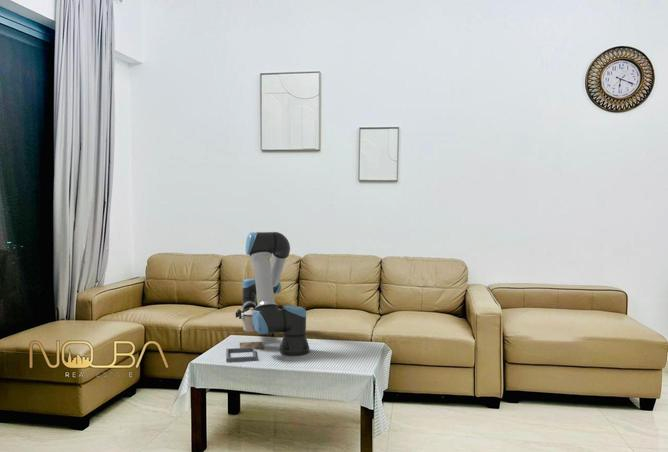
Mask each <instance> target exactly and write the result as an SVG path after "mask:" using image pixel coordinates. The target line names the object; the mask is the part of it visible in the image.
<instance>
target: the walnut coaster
mask: <svg viewBox="0 0 668 452" xmlns="http://www.w3.org/2000/svg"><path fill="white" fill-rule="evenodd" d="M263 343H264V342H263V341H248V342H239V348H251V347H254V348H255V350H259V349H261V350H262V349H264V344H263Z"/></svg>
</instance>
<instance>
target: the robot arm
mask: <svg viewBox="0 0 668 452" xmlns="http://www.w3.org/2000/svg"><path fill="white" fill-rule="evenodd" d="M290 252H291V244H290V242H289V240H288V238H287V236H285V235H284V234H282V233H281V232H277V231H266V232H265V231H255V232H250V233H248V234H247V238H246V241H245V254H246V255H249V258H250V260H252V263H253V273H254V278H245V279H243V280H242V281H243V282H242V304H241V307H242V309H240V308H238V309H237V311H236V312H235V318H238V320H241V321H242V322H243V313H244V312H246V311H248V310H250V308H254V310H255V311H253V313H252V320H253V325H254V328H255V332H256V333H257V334H258V335H268V334H269V335H270V334H278V333H279V334H280V333H282V338H281V339H282V340H281V342H280V345H279V353H280V354H281V355H285V356H292V357H293V356H294V357H295V356H304V355H307V354H308V353H310V345H309V342H308V339H307V311H306V308H305V307H303V306H298V305H291V304H290V305H288V304H287V305H283V307H282V308H279V305H278V303H276V302H275V294H276V295H277V294H280V293H281V288H282V285H281V281H280V278H281V275H282V272H283V269H284V266H285V262H286V260H287V259H286V258H288V257H289V255H290ZM270 259H271V260H270ZM256 302H257V304H256Z"/></svg>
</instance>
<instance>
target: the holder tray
mask: <svg viewBox="0 0 668 452" xmlns="http://www.w3.org/2000/svg"><path fill="white" fill-rule="evenodd" d="M225 349H226V352H225V353H226V356H225V359H226V363H233V362H251V361H253V362H255V361H257V354H256V349H255V348H254V347H251V348H240V347H235V348H225ZM250 352H252V355H251V356H250V355H249V356H232V357H230V356H229V354H230V353H250Z"/></svg>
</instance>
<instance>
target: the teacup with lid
mask: <svg viewBox="0 0 668 452" xmlns="http://www.w3.org/2000/svg"><path fill="white" fill-rule="evenodd" d="M253 311H255V310H254V308H250V310H248V311H246V312H244V313H243V321H242V326H243V327H242V330H243V332H248V333H253V332H254V333H255V332H256V331H255V328H254V325H253V320H252V313H253Z"/></svg>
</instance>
